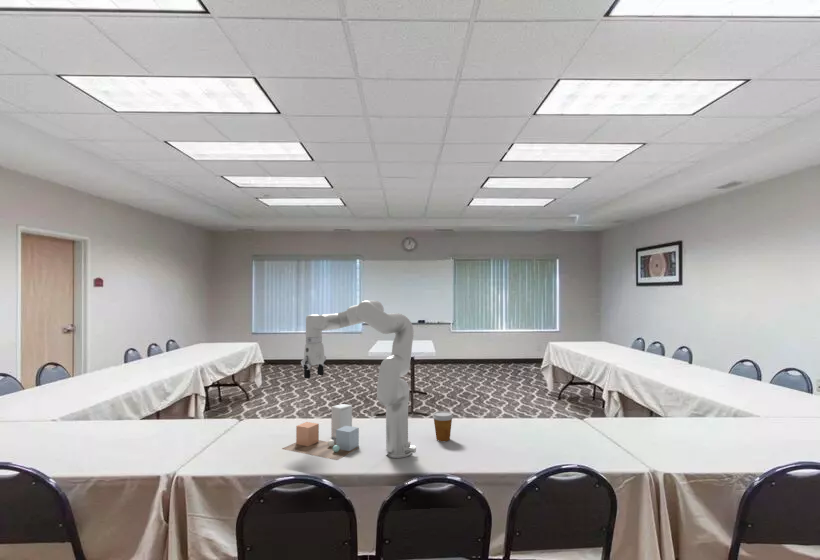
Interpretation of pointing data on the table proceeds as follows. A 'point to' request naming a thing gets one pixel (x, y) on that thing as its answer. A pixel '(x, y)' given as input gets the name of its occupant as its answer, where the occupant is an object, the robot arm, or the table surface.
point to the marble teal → (336, 448)
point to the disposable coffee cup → (442, 425)
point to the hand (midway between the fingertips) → (314, 376)
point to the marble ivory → (331, 443)
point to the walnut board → (319, 450)
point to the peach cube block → (307, 433)
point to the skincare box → (340, 417)
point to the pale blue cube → (347, 438)
